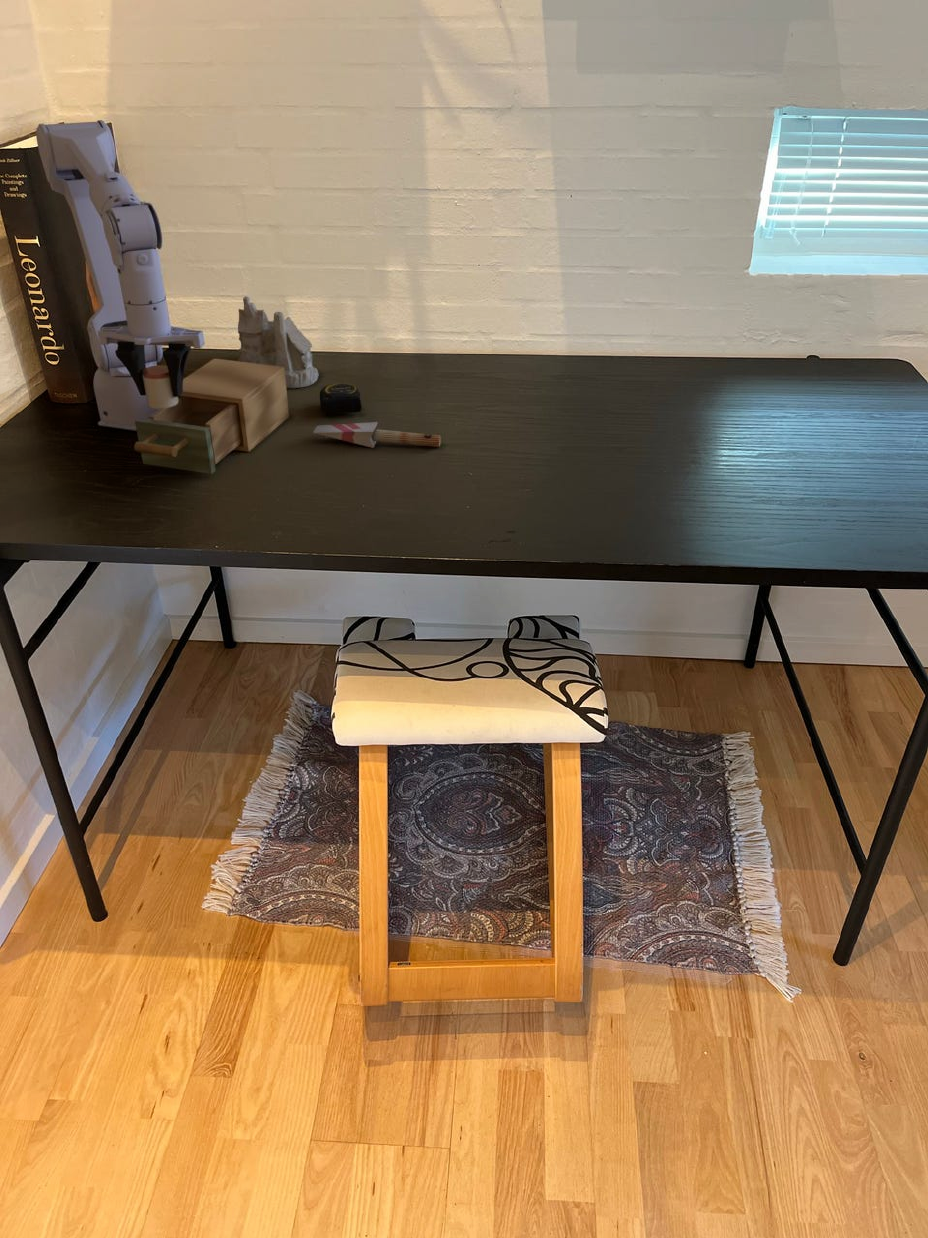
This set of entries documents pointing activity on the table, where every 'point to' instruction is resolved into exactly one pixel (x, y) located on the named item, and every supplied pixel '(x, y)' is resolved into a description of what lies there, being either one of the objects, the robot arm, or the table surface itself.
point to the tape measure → (340, 399)
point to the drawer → (190, 434)
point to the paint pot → (158, 387)
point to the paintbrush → (374, 435)
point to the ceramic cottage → (275, 345)
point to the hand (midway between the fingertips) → (161, 393)
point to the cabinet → (244, 394)
